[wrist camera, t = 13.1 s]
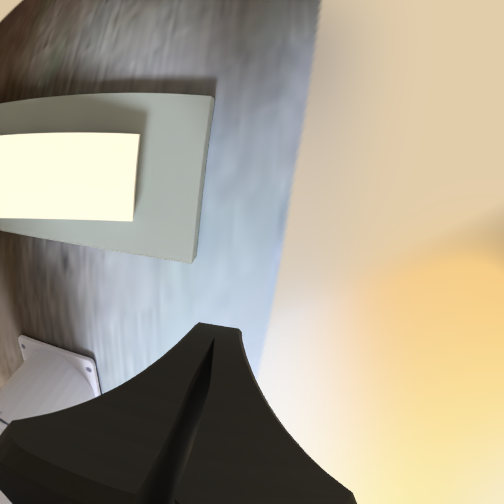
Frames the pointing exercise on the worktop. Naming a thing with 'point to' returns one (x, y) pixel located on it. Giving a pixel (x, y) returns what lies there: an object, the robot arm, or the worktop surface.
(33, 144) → the head domino
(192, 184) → the board
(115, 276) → the worktop surface
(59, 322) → the worktop surface
